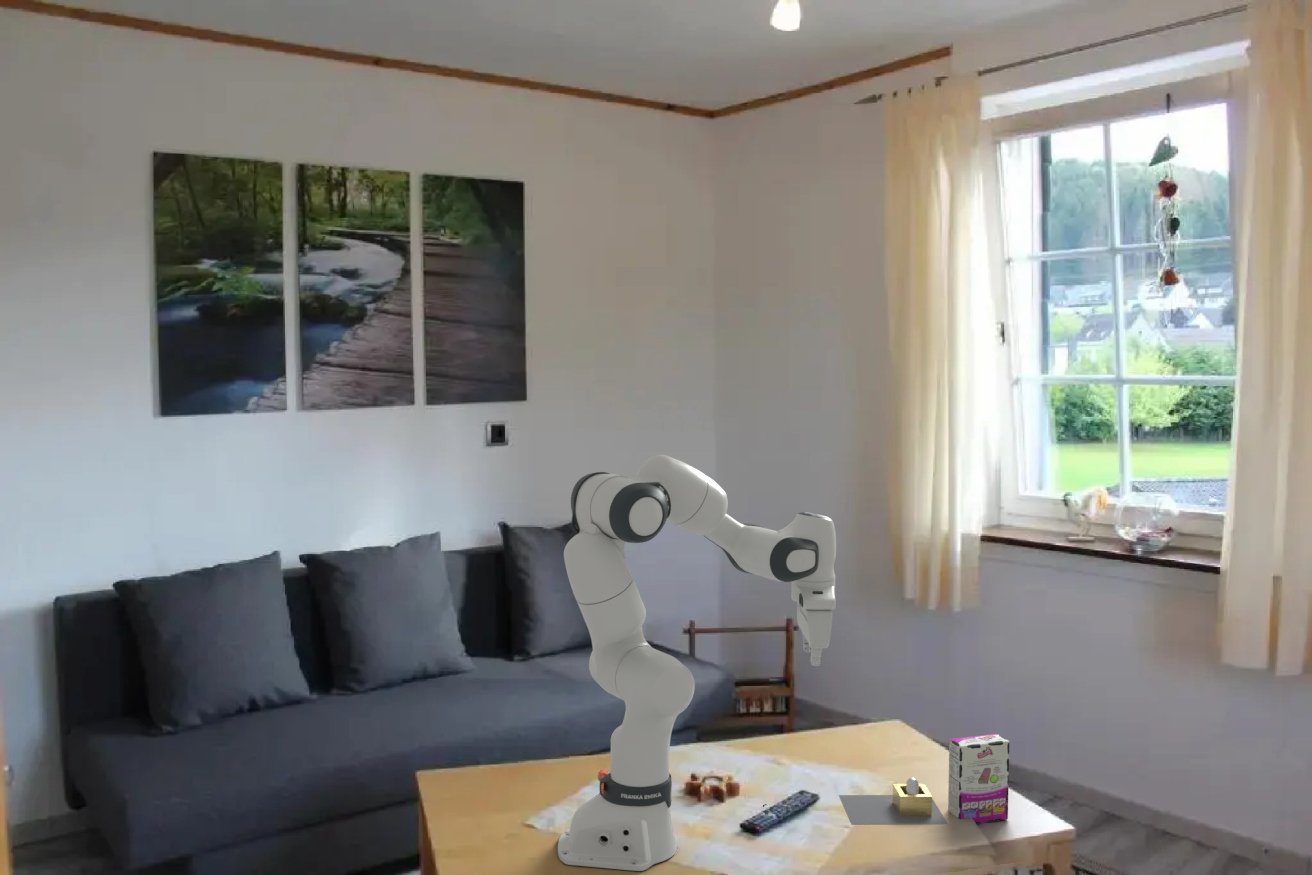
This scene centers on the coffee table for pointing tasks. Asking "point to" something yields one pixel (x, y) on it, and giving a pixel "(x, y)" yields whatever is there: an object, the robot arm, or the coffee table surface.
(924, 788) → the brass collar
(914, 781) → the steel post
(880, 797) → the slate mat
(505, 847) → the coffee table surface
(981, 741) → the candy bar box
